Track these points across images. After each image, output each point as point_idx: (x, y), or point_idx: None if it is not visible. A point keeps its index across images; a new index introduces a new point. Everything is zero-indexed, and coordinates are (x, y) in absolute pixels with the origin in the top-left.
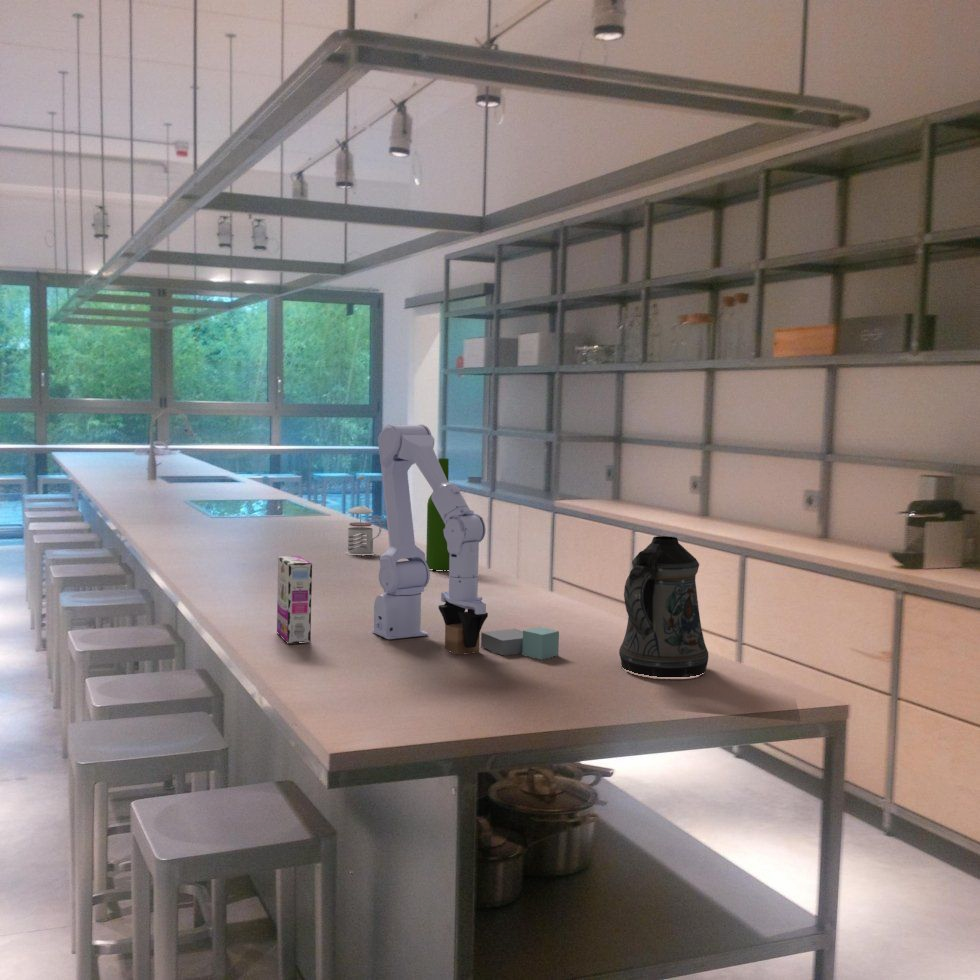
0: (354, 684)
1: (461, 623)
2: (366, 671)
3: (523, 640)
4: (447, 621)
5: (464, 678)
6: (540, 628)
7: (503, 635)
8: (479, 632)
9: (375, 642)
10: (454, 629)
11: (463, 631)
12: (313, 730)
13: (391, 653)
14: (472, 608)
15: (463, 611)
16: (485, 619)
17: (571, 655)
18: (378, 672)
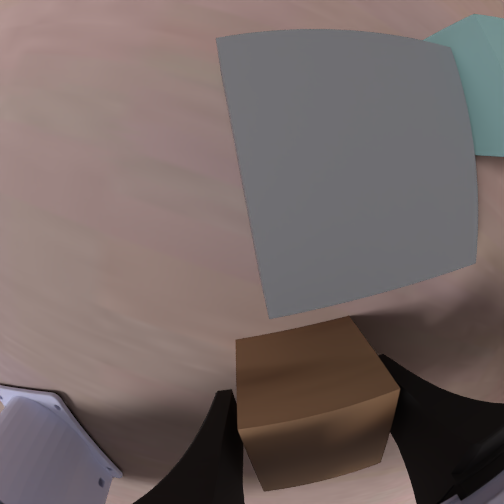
0: (413, 491)
1: (248, 451)
2: (369, 498)
3: (494, 154)
4: (242, 495)
5: (499, 380)
6: (499, 38)
7: (401, 207)
8: (430, 383)
9: (144, 488)
10: (351, 469)
11: (398, 443)
12: None
13: (261, 492)
14: (475, 498)
15: (216, 500)
16: (495, 404)
17: (457, 10)
18: (385, 489)
